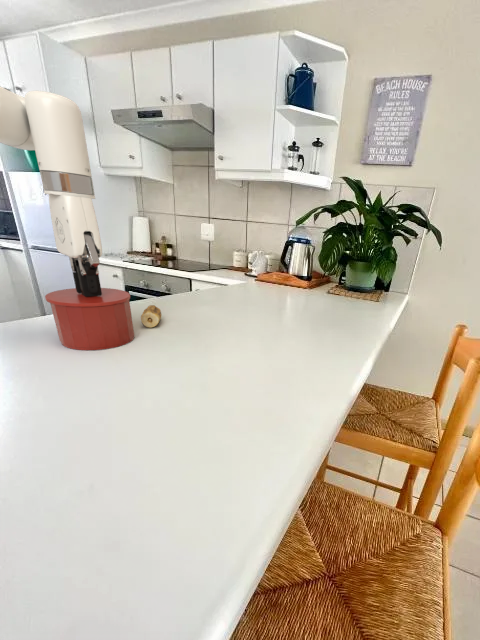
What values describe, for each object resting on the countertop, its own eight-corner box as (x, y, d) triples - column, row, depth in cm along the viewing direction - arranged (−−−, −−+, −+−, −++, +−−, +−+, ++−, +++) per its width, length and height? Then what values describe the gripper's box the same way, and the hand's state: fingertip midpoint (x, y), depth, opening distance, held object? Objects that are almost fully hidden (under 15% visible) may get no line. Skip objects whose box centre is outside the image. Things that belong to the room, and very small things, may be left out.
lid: (36, 297, 64) (26, 261, 61) (112, 290, 74) (107, 260, 71) (62, 314, 56) (52, 273, 53) (143, 304, 66) (139, 270, 63)
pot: (51, 336, 68) (40, 295, 64) (117, 325, 77) (111, 289, 73) (75, 355, 60) (64, 310, 56) (146, 341, 69) (140, 301, 66)
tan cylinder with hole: (145, 318, 83) (143, 303, 82) (163, 318, 85) (161, 303, 83) (141, 328, 76) (138, 312, 75) (160, 328, 77) (158, 312, 76)
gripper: (29, 183, 58) (54, 288, 66) (60, 184, 49) (84, 305, 57) (75, 189, 63) (93, 285, 71) (111, 190, 54) (127, 300, 62)
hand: (89, 293), depth 64 cm, fingers closed on lid, 2 cm apart
